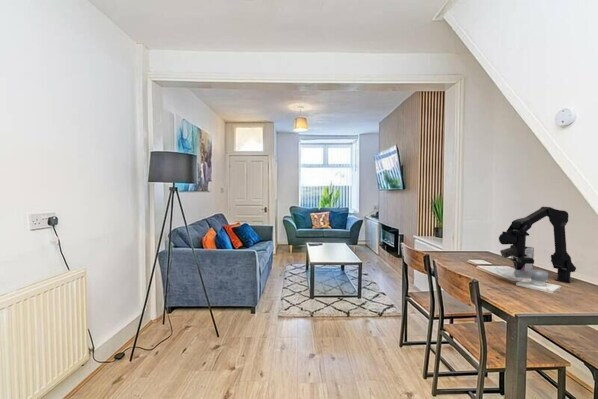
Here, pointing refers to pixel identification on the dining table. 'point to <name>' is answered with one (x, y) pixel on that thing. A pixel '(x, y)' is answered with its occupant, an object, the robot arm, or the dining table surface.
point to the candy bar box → (529, 253)
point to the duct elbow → (532, 274)
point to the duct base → (549, 286)
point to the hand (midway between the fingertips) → (517, 272)
